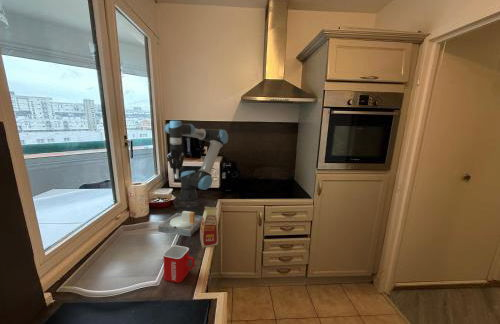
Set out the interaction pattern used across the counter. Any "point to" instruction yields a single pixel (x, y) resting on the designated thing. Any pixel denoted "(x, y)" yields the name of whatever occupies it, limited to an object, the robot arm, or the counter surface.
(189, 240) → the counter surface
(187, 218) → the dial
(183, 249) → the mug
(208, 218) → the milk carton
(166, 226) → the panel
